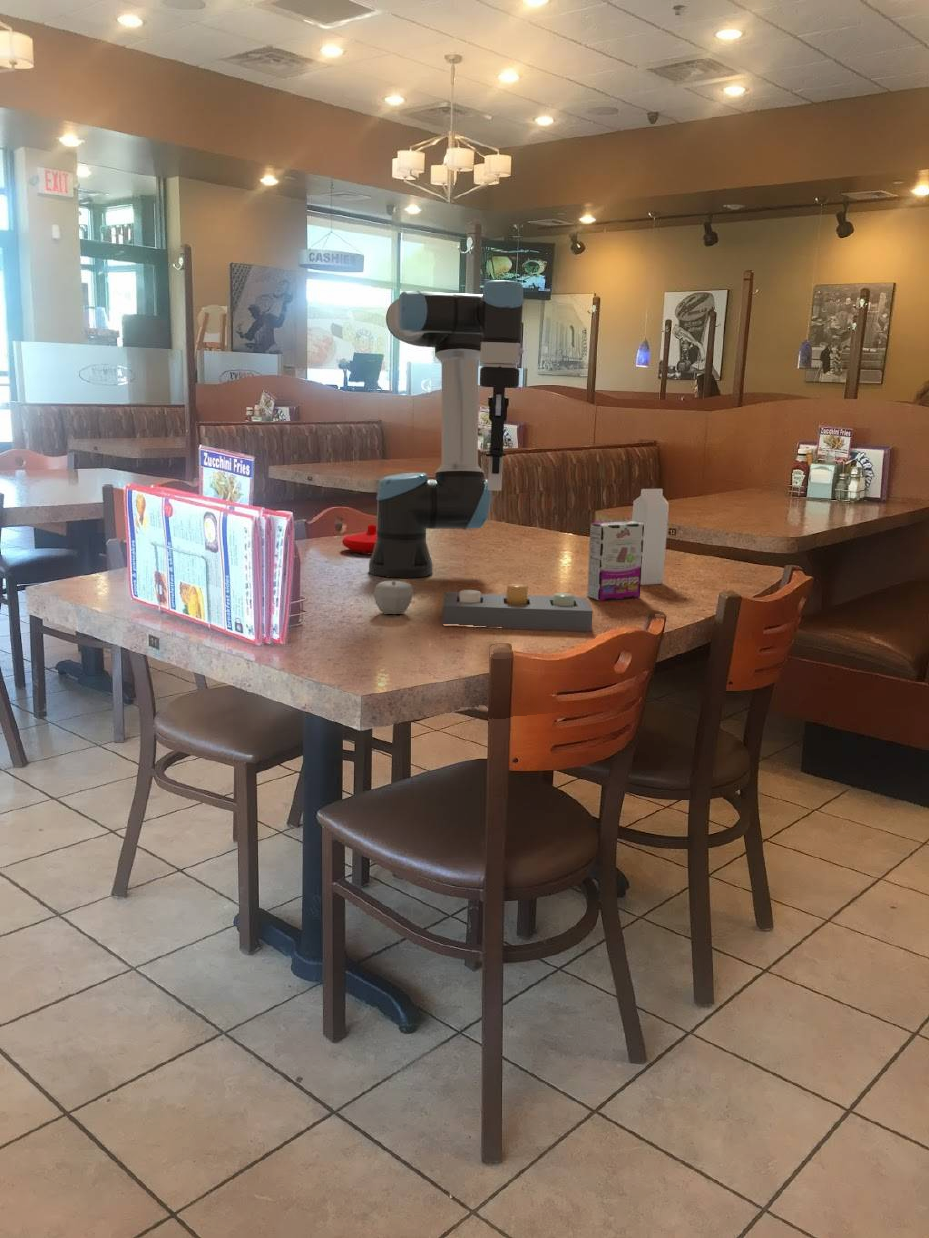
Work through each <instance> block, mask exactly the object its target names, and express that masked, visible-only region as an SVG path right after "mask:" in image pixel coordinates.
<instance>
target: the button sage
mask: <svg viewBox="0 0 929 1238" xmlns="http://www.w3.org/2000/svg"><path fill="white" fill-rule="evenodd" d="M552 596H553V606H574V597H575V595H574V594H571V593H564V592H559V593H553V595H552Z"/></svg>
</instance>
